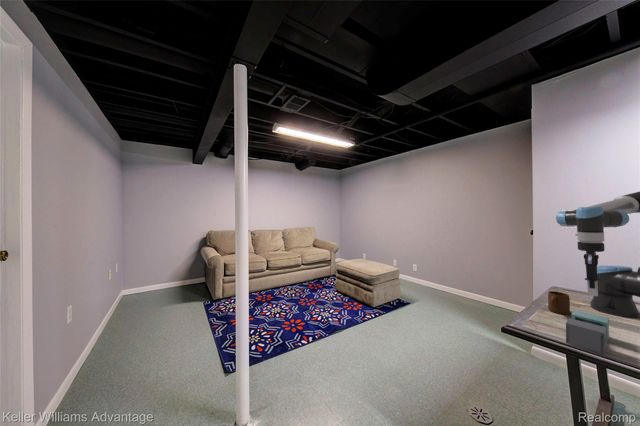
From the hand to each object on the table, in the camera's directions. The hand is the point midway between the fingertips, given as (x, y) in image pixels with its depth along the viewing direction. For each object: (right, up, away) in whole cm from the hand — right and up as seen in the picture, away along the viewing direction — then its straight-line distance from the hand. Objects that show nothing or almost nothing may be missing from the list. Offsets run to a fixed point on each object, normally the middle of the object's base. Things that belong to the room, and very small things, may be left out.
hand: (592, 294), depth 97 cm
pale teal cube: (-7, -15, -5) cm, 17 cm away
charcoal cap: (-18, -15, -12) cm, 26 cm away
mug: (+1, -15, +16) cm, 22 cm away
